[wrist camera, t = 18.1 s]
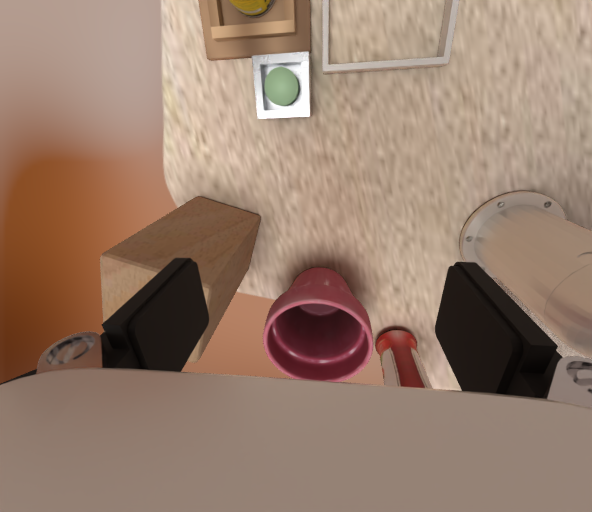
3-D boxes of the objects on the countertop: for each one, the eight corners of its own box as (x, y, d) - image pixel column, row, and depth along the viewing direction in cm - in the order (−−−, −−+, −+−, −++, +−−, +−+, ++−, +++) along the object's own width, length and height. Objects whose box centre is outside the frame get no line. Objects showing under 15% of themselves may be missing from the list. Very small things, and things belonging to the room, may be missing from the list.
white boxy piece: (311, 58, 32) (308, 51, 29) (311, 116, 35) (309, 116, 32) (260, 62, 33) (251, 55, 30) (265, 118, 36) (257, 118, 32)
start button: (299, 68, 31) (296, 65, 29) (300, 105, 33) (298, 104, 31) (267, 71, 32) (263, 67, 30) (270, 106, 33) (266, 106, 31)
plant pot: (376, 310, 47) (390, 372, 36) (301, 333, 51) (293, 395, 40) (343, 238, 42) (347, 284, 31) (263, 270, 46) (241, 321, 35)
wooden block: (190, 251, 46) (101, 337, 28) (197, 194, 41) (96, 253, 24) (248, 269, 46) (196, 366, 29) (262, 214, 42) (210, 288, 24)
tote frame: (464, -76, 26) (474, -91, 24) (441, 66, 31) (448, 63, 29) (323, -59, 28) (322, -72, 26) (323, 74, 33) (322, 71, 31)
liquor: (414, 355, 50) (495, 589, 26) (373, 355, 52) (411, 579, 27) (417, 323, 47) (513, 554, 22) (373, 324, 48) (416, 544, 24)
